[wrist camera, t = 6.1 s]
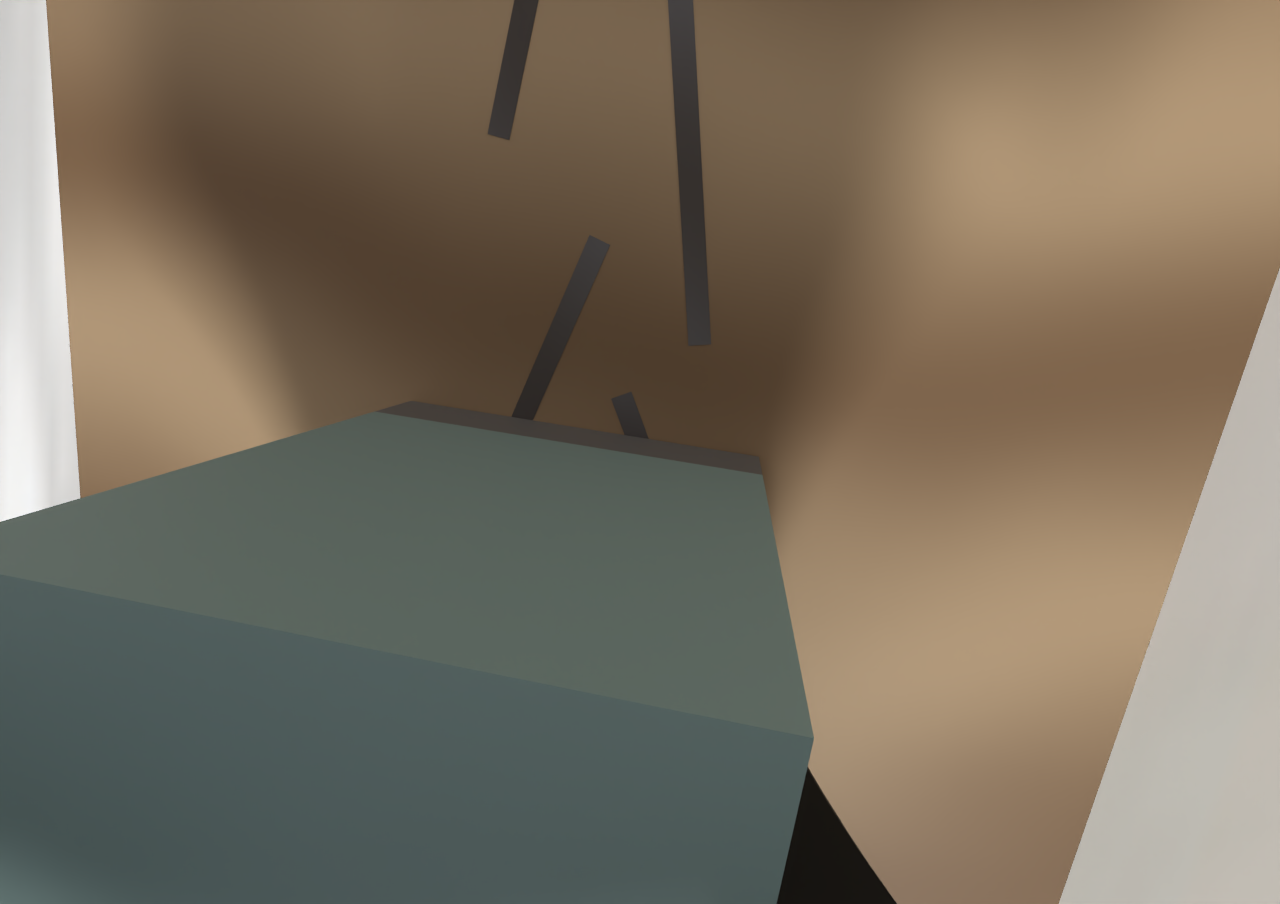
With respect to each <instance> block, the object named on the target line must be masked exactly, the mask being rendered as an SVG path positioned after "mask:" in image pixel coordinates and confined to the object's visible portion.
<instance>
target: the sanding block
mask: <svg viewBox="0 0 1280 904" xmlns="http://www.w3.org/2000/svg"><path fill="white" fill-rule="evenodd" d="M813 741H814V735H813V730H812V725H811V720H810V715H809V710H808V705H807V700H806V695H805V689H804V684H803V679H802V674H801V669H800V664H799V659H798V654H797V649H796V643H795V638H794V633H793V628H792V623H791V618H790V613H789V608H788V603H787V597H786V592H785V587H784V582H783V577H782V572H781V567H780V562H779V557H778V551H777V546H776V541H775V536H774V531H773V526H772V521H771V516H770V511H769V506H768V500H767V495H766V490H765V485H764V480H763V475H762V470H761V465H760V460H759V457H758V456H752V455H746V454H740V453H733V452H727V451H721V450H715V449H708V448H702V447H696V446H690V445H684V444H677V443H671V442H665V441H659V440H652V439H646V438H640V437H634V436H627V435H621V434H615V433H609V432H603V431H596V430H590V429H584V428H578V427H571V426H565V425H559V424H553V423H547V422H540V421H534V420H528V419H522V418H515V417H509V416H503V415H497V414H491V413H484V412H478V411H472V410H466V409H459V408H453V407H447V406H441V405H434V404H428V403H422V402H416V401H408V402H405V403H402V404H398V405H395V406H391V407H388V408H385V409H381V410H378V411H374V412H371V413H368V414H364V415H361V416H358V417H354V418H351V419H347V420H344V421H341V422H337V423H334V424H331V425H327V426H324V427H320V428H317V429H314V430H310V431H307V432H303V433H300V434H297V435H293V436H290V437H287V438H283V439H280V440H276V441H273V442H270V443H266V444H263V445H259V446H256V447H253V448H249V449H246V450H243V451H239V452H236V453H232V454H229V455H226V456H222V457H219V458H215V459H212V460H209V461H205V462H202V463H199V464H195V465H192V466H188V467H185V468H182V469H178V470H175V471H172V472H168V473H165V474H161V475H158V476H155V477H151V478H148V479H144V480H141V481H138V482H134V483H131V484H128V485H124V486H121V487H117V488H114V489H111V490H107V491H104V492H100V493H97V494H94V495H90V496H87V497H84V498H80V499H77V500H73V501H70V502H67V503H63V504H60V505H56V506H53V507H50V508H46V509H43V510H40V511H36V512H33V513H29V514H26V515H23V516H19V517H16V518H13V519H9V520H6V521H2V522H0V904H777V900H778V895H779V891H780V886H781V882H782V877H783V873H784V869H785V864H786V860H787V855H788V851H789V847H790V842H791V838H792V833H793V829H794V825H795V820H796V816H797V811H798V807H799V803H800V798H801V794H802V789H803V785H804V781H805V776H806V772H807V767H808V763H809V758H810V754H811V750H812V745H813Z"/></svg>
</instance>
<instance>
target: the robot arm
mask: <svg viewBox="0 0 1280 904" xmlns="http://www.w3.org/2000/svg"><path fill="white" fill-rule="evenodd" d="M777 904H897V903H896V901H895V900H894V899H893V897H892V896H891V894H890V893H889V892H888V890H887V889H886V887H885V886H884V884H883V883H882V882H881V880H880V879H879V877H878V876H877V875H876V873H875V872H874V870H873V869H872V867H871V866H870V865H869V863H868V862H867V860H866V859H865V857H864V856H863V854H862V853H861V851H860V850H859V848H858V847H857V845H856V844H855V842H854V841H853V839H852V838H851V836H850V835H849V833H848V831H847V830H846V828H845V827H844V825H843V823H842V822H841V820H840V819H839V817H838V815H837V814H836V812H835V811H834V809H833V808H832V806H831V804H830V803H829V801H828V800H827V798H826V796H825V795H824V793H823V792H822V790H821V788H820V787H819V785H818V783H817V781H816V780H815V778H814V776H813V775H812V773H811V771H810V770H809V768H808V767H807V772H806V776H805V781H804V785H803V789H802V794H801V798H800V803H799V807H798V811H797V816H796V820H795V825H794V829H793V833H792V838H791V842H790V847H789V851H788V855H787V860H786V864H785V869H784V873H783V877H782V882H781V886H780V891H779V895H778V900H777Z"/></svg>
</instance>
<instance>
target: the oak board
mask: <svg viewBox="0 0 1280 904" xmlns="http://www.w3.org/2000/svg"><path fill="white" fill-rule="evenodd" d="M46 5H47V20H48V34H49V49H50V63H51V78H52V92H53V106H54V121H55V135H56V150H57V164H58V179H59V193H60V207H61V222H62V236H63V251H64V265H65V280H66V294H67V309H68V323H69V337H70V352H71V366H72V381H73V395H74V410H75V424H76V438H77V453H78V467H79V482H80V496H81V498H84V497H87V496H90V495H94V494H97V493H100V492H104V491H107V490H111V489H114V488H117V487H121V486H124V485H128V484H131V483H134V482H138V481H141V480H144V479H148V478H151V477H155V476H158V475H161V474H165V473H168V472H172V471H175V470H178V469H182V468H185V467H188V466H192V465H195V464H199V463H202V462H205V461H209V460H212V459H215V458H219V457H222V456H226V455H229V454H232V453H236V452H239V451H243V450H246V449H249V448H253V447H256V446H259V445H263V444H266V443H270V442H273V441H276V440H280V439H283V438H287V437H290V436H293V435H297V434H300V433H303V432H307V431H310V430H314V429H317V428H320V427H324V426H327V425H331V424H334V423H337V422H341V421H344V420H347V419H351V418H354V417H358V416H361V415H364V414H368V413H371V412H374V411H378V410H381V409H385V408H388V407H391V406H395V405H398V404H402V403H405V402H408V401H416V402H422V403H428V404H434V405H441V406H447V407H453V408H459V409H466V410H472V411H478V412H484V413H491V414H497V415H503V416H509V417H515V418H522V419H528V420H534V421H540V422H547V423H553V424H559V425H565V426H571V427H578V428H584V429H590V430H596V431H603V432H609V433H615V434H621V435H627V436H634V437H640V438H646V439H652V440H659V441H665V442H671V443H677V444H684V445H690V446H696V447H702V448H708V449H715V450H721V451H727V452H733V453H740V454H746V455H752V456H758V457H759V460H760V465H761V470H762V475H763V480H764V485H765V490H766V495H767V500H768V506H769V511H770V516H771V521H772V526H773V531H774V536H775V541H776V546H777V551H778V557H779V562H780V567H781V572H782V577H783V582H784V587H785V592H786V597H787V603H788V608H789V613H790V618H791V623H792V628H793V633H794V638H795V643H796V649H797V654H798V659H799V664H800V669H801V674H802V679H803V684H804V689H805V695H806V700H807V705H808V710H809V715H810V720H811V725H812V730H813V735H814V741H813V745H812V750H811V754H810V758H809V763H808V768H809V770H810V771H811V773H812V775H813V776H814V778H815V780H816V781H817V783H818V785H819V787H820V788H821V790H822V792H823V793H824V795H825V796H826V798H827V800H828V801H829V803H830V804H831V806H832V808H833V809H834V811H835V812H836V814H837V815H838V817H839V819H840V820H841V822H842V823H843V825H844V827H845V828H846V830H847V831H848V833H849V835H850V836H851V838H852V839H853V841H854V842H855V844H856V845H857V847H858V848H859V850H860V851H861V853H862V854H863V856H864V857H865V859H866V860H867V862H868V863H869V865H870V866H871V867H872V869H873V870H874V872H875V873H876V875H877V876H878V877H879V879H880V880H881V882H882V883H883V884H884V886H885V887H886V889H887V890H888V892H889V893H890V894H891V896H892V897H893V899H894V900H895V901H896V903H897V904H1058V903H1059V901H1060V898H1061V895H1062V892H1063V889H1064V886H1065V883H1066V880H1067V878H1068V875H1069V872H1070V869H1071V866H1072V863H1073V860H1074V857H1075V855H1076V852H1077V849H1078V846H1079V843H1080V840H1081V837H1082V834H1083V832H1084V829H1085V826H1086V823H1087V820H1088V817H1089V814H1090V811H1091V809H1092V806H1093V803H1094V800H1095V797H1096V794H1097V791H1098V788H1099V786H1100V783H1101V780H1102V777H1103V774H1104V771H1105V768H1106V765H1107V763H1108V760H1109V757H1110V754H1111V751H1112V748H1113V745H1114V742H1115V740H1116V737H1117V734H1118V731H1119V728H1120V725H1121V722H1122V719H1123V717H1124V714H1125V711H1126V708H1127V705H1128V702H1129V699H1130V696H1131V694H1132V691H1133V688H1134V685H1135V682H1136V679H1137V676H1138V673H1139V671H1140V668H1141V665H1142V662H1143V659H1144V656H1145V653H1146V650H1147V648H1148V645H1149V642H1150V639H1151V636H1152V633H1153V630H1154V627H1155V625H1156V622H1157V619H1158V616H1159V613H1160V610H1161V607H1162V604H1163V602H1164V599H1165V596H1166V593H1167V590H1168V587H1169V584H1170V581H1171V579H1172V576H1173V573H1174V570H1175V567H1176V564H1177V561H1178V558H1179V556H1180V553H1181V550H1182V547H1183V544H1184V541H1185V538H1186V535H1187V533H1188V530H1189V527H1190V524H1191V521H1192V518H1193V515H1194V512H1195V510H1196V507H1197V504H1198V501H1199V498H1200V495H1201V492H1202V489H1203V487H1204V484H1205V481H1206V478H1207V475H1208V472H1209V469H1210V466H1211V464H1212V461H1213V458H1214V455H1215V452H1216V449H1217V446H1218V443H1219V441H1220V438H1221V435H1222V432H1223V429H1224V426H1225V423H1226V420H1227V418H1228V415H1229V412H1230V409H1231V406H1232V403H1233V400H1234V397H1235V395H1236V392H1237V389H1238V386H1239V383H1240V380H1241V377H1242V374H1243V372H1244V369H1245V366H1246V363H1247V360H1248V357H1249V354H1250V351H1251V349H1252V346H1253V343H1254V340H1255V337H1256V334H1257V331H1258V328H1259V326H1260V323H1261V320H1262V317H1263V314H1264V311H1265V308H1266V305H1267V303H1268V300H1269V297H1270V294H1271V291H1272V288H1273V285H1274V282H1275V280H1276V277H1277V274H1278V271H1279V268H1280V0H46Z"/></svg>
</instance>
